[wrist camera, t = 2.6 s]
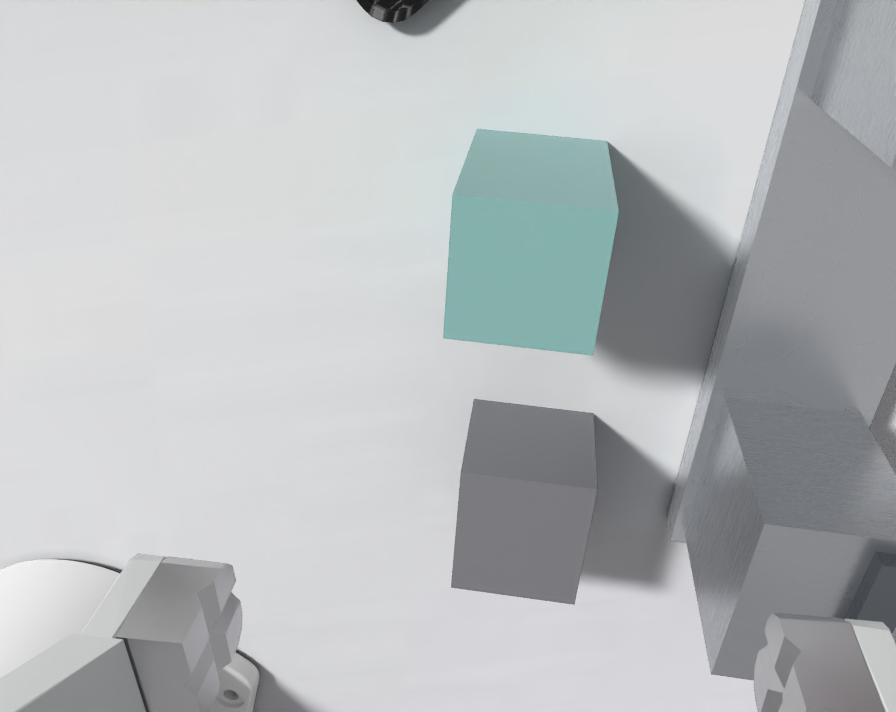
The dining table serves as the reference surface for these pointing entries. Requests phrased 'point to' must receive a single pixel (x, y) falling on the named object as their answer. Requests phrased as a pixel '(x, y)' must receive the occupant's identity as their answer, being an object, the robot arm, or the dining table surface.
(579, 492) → the block
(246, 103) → the dining table surface
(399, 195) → the dining table surface
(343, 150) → the dining table surface
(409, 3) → the phone
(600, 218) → the block
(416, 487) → the dining table surface
